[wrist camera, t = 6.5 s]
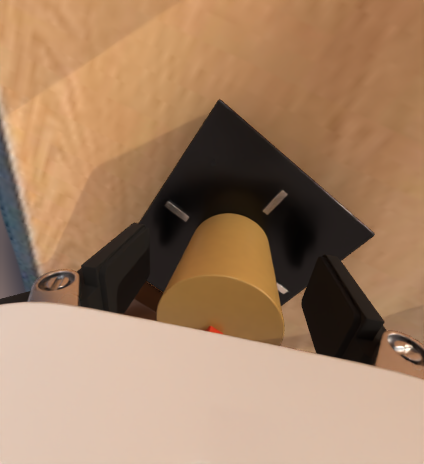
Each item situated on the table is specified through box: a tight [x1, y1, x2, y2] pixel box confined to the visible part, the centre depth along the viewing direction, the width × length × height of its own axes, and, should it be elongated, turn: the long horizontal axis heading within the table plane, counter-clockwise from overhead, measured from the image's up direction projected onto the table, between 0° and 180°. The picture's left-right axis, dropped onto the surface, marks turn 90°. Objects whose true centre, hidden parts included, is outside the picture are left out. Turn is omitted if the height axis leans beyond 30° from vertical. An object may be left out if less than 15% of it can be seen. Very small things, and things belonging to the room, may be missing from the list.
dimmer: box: [138, 99, 375, 306], centre depth 14 cm, size 11×10×3 cm
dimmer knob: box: [157, 213, 285, 346], centre depth 10 cm, size 4×4×6 cm
